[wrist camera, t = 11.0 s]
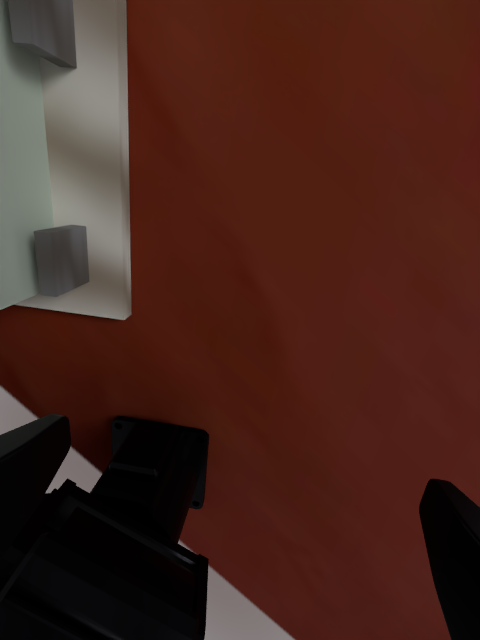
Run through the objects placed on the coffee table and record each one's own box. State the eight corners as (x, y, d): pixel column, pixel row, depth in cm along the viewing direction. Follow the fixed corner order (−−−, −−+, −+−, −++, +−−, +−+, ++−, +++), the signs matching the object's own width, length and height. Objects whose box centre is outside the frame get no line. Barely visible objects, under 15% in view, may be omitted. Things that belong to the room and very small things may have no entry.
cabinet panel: (131, 314, 21) (97, 341, 18) (-24, 292, 22) (-87, 313, 18) (125, -61, 15) (71, -141, 12) (-88, -69, 16) (-201, -145, 12)
